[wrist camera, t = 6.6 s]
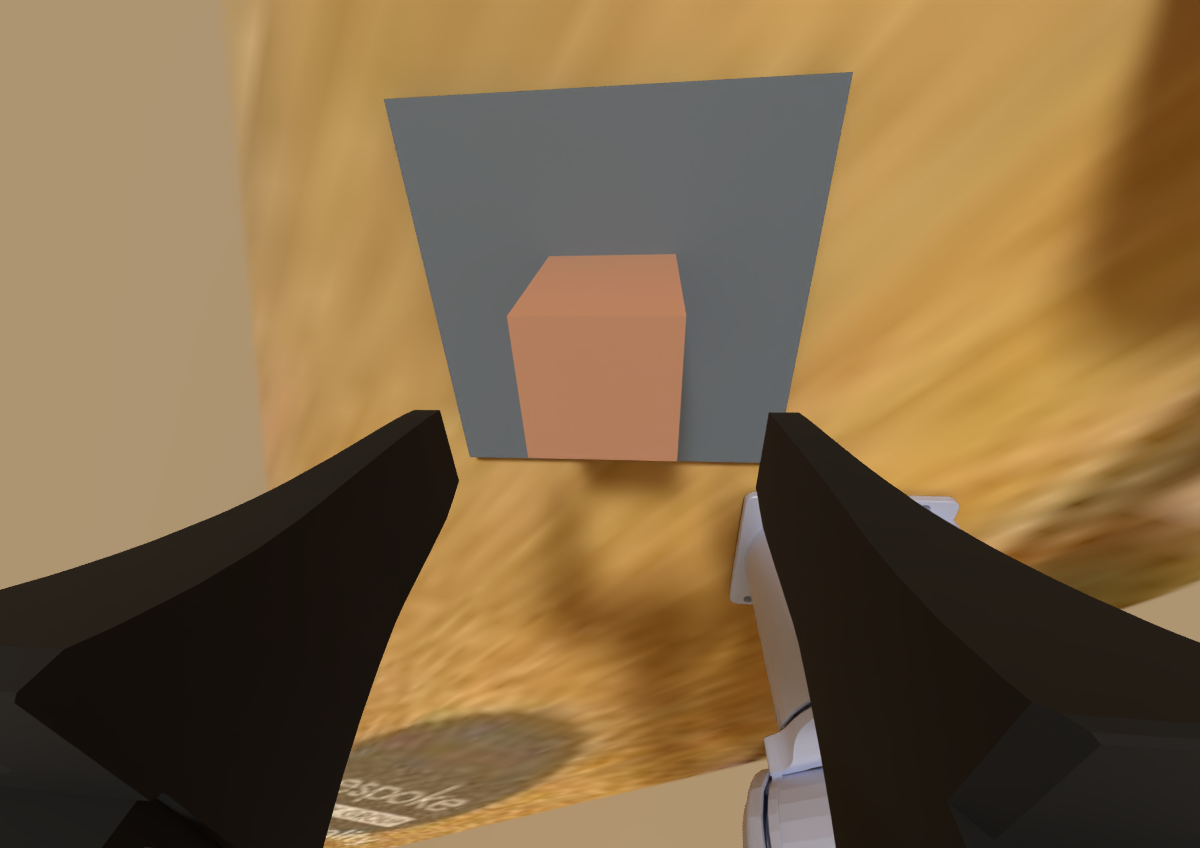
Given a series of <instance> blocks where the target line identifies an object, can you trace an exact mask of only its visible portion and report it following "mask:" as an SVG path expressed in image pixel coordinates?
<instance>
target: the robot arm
mask: <svg viewBox="0 0 1200 848" xmlns="http://www.w3.org/2000/svg"><path fill="white" fill-rule="evenodd" d="M458 482H459V479H458V476H457V472H456V468H455V464H454V461H453V457H452V453H451V450H450V446H449V442H448V439H447V435H446V431H445V428H444V424H443V420H442V416H441V413H440V410H413V411H411V412H409V413H407V414H405V415H403V416H401V417H399V418H397V419H395V420H394V421H392V422H390V423H388V424H387V425H385V426H383V427H382V428H380V429H378V430H376V431H375V432H373V433H371V434H370V435H368V436H366V437H365V438H363V439H361V440H360V441H358V442H356V443H355V444H353V445H351V446H350V447H348V448H346V449H345V450H343V451H341V452H340V453H338V454H336V455H335V456H333V457H331V458H329V459H327V460H326V461H324V462H322V463H320V464H318V465H317V466H315V467H313V468H311V469H309V470H308V471H306V472H304V473H302V474H300V475H299V476H297V477H295V478H293V479H291V480H290V481H288V482H286V483H284V484H282V485H280V486H278V487H276V488H274V489H272V490H270V491H268V492H266V493H264V494H262V495H260V496H258V497H256V498H254V499H252V500H250V501H247V502H245V503H243V504H241V505H239V506H236V507H234V508H232V509H230V510H228V511H226V512H223V513H221V514H219V515H216V516H214V517H212V518H209V519H207V520H204V521H202V522H199V523H197V524H194V525H192V526H189V527H187V528H184V529H182V530H179V531H177V532H174V533H172V534H169V535H167V536H164V537H162V538H159V539H157V540H154V541H151V542H149V543H146V544H143V545H140V546H138V547H135V548H132V549H129V550H126V551H123V552H121V553H118V554H115V555H112V556H109V557H106V558H103V559H100V560H97V561H94V562H91V563H88V564H85V565H82V566H79V567H76V568H73V569H70V570H67V571H63V572H60V573H57V574H54V575H50V576H47V577H44V578H40V579H37V580H33V581H30V582H26V583H22V584H19V585H15V586H12V587H8V588H5V589H1V590H0V848H323V846H324V842H325V838H326V835H327V831H328V827H329V824H330V820H331V817H332V813H333V809H334V806H335V802H336V799H337V795H338V792H339V788H340V784H341V781H342V777H343V774H344V770H345V767H346V764H347V761H348V758H349V754H350V751H351V748H352V745H353V742H354V738H355V735H356V732H357V729H358V726H359V723H360V719H361V716H362V713H363V710H364V707H365V705H366V702H367V699H368V696H369V693H370V690H371V687H372V684H373V682H374V679H375V676H376V673H377V670H378V667H379V664H380V662H381V659H382V657H383V654H384V651H385V649H386V646H387V643H388V641H389V638H390V635H391V633H392V630H393V628H394V625H395V623H396V620H397V618H398V616H399V614H400V611H401V609H402V607H403V605H404V603H405V601H406V599H407V597H408V595H409V593H410V591H411V589H412V587H413V585H414V583H415V581H416V579H417V577H418V575H419V573H420V571H421V569H422V567H423V565H424V563H425V561H426V559H427V557H428V555H429V553H430V551H431V549H432V547H433V545H434V543H435V541H436V539H437V537H438V535H439V533H440V531H441V529H442V527H443V525H444V523H445V521H446V519H447V516H448V513H449V510H450V507H451V504H452V501H453V498H454V495H455V492H456V489H457V485H458ZM756 491H757V492H751V493H749V494H747V495H746V496H745V498H744V503H743V509H742V516H741V522H740V528H739V534H738V540H737V546H736V553H735V559H734V565H733V571H732V577H731V584H730V590H729V597H730V600H731V602H733V603H736V604H750V605H753V608H754V612H755V617H756V622H757V627H758V632H759V637H760V642H761V646H762V651H763V656H764V661H765V666H766V671H767V676H768V680H769V685H770V690H771V695H772V700H773V705H774V710H775V714H776V719H777V724H778V729H779V732H778V733H775V734H773V735H770V736H766V737H765V738H764V744H765V750H766V755H767V761H768V766H769V769H764V770H761V771H760V772H758V773H757V774H756V775H755V777H754V778H753V780H752V782H751V785H750V788H749V792H748V797H747V803H746V805H745V810H744V817H743V848H1200V643H1199V642H1197V641H1194V640H1191V639H1189V638H1186V637H1184V636H1181V635H1179V634H1176V633H1174V632H1171V631H1169V630H1166V629H1164V628H1161V627H1159V626H1157V625H1154V624H1152V623H1150V622H1147V621H1145V620H1142V619H1140V618H1138V617H1136V616H1134V615H1131V614H1129V613H1127V612H1125V611H1122V610H1120V609H1118V608H1116V607H1113V606H1111V605H1109V604H1107V603H1104V602H1102V601H1100V600H1098V599H1095V598H1093V597H1091V596H1089V595H1086V594H1084V593H1082V592H1080V591H1078V590H1076V589H1074V588H1072V587H1070V586H1067V585H1065V584H1063V583H1061V582H1059V581H1057V580H1055V579H1053V578H1051V577H1049V576H1047V575H1045V574H1043V573H1041V572H1039V571H1037V570H1035V569H1033V568H1031V567H1029V566H1027V565H1025V564H1023V563H1021V562H1019V561H1017V560H1015V559H1013V558H1012V557H1010V556H1008V555H1006V554H1004V553H1002V552H1000V551H998V550H996V549H994V548H993V547H991V546H989V545H987V544H985V543H983V542H982V541H980V540H978V539H976V538H974V537H973V536H971V535H969V534H968V533H966V532H964V531H963V530H961V529H960V527H959V526H958V525H957V523H956V522H955V520H954V518H955V516H956V514H957V512H958V510H959V505H958V503H957V502H956V500H955V499H953V498H952V497H940V496H907V495H906V494H904V493H903V492H901V491H900V490H899V489H897V488H896V487H894V486H893V485H891V484H890V483H888V482H887V481H886V480H884V479H883V478H882V477H880V476H879V475H878V474H876V473H875V472H873V471H872V470H871V469H870V468H868V467H867V466H866V465H864V464H863V463H862V462H860V461H859V460H858V459H857V458H855V457H854V456H853V455H851V454H850V453H849V452H848V451H846V450H845V449H844V448H843V447H841V446H840V445H839V444H838V443H837V442H835V441H834V440H833V439H832V438H830V437H829V436H828V435H827V434H826V433H824V432H823V431H822V430H821V429H819V428H818V427H817V426H816V425H814V424H813V423H812V422H811V421H809V420H808V419H807V418H806V417H804V416H803V415H801V414H800V413H775V412H769V414H768V420H767V426H766V431H765V437H764V443H763V449H762V455H761V461H760V467H759V472H758V478H757V484H756ZM923 505H925V506H923Z"/></svg>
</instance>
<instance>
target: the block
mask: <svg viewBox="0 0 1200 848" xmlns="http://www.w3.org/2000/svg"><path fill="white" fill-rule="evenodd" d="M507 321H508V328H509V334H510V341H511V347H512V354H513V361H514V367H515V374H516V381H517V387H518V394H519V400H520V407H521V414H522V420H523V427H524V434H525V440H526V447H527V453H528V458H558V459H600V460H641V461H677V454H678V439H679V423H680V407H681V391H682V375H683V359H684V344H685V328H686V311H685V305H684V299H683V293H682V288H681V282H680V276H679V270H678V264H677V258H676V254H652V255H593V256H549V257H548V258H547V260H546V261H545V263H544V264H543V265H542V267H541V268H540V270H539V271H538V273H537V274H536V275H535V277H534V278H533V280H532V281H531V283H530V284H529V285H528V287H527V288H526V290H525V291H524V293H523V294H522V295H521V297H520V298H519V300H518V301H517V302H516V304H515V305H514V307H513V308H512V310H511V311H510V312H509V314H508V315H507Z"/></svg>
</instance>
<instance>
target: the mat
mask: <svg viewBox="0 0 1200 848" xmlns="http://www.w3.org/2000/svg"><path fill="white" fill-rule="evenodd" d="M852 74H853V72H846V73H829V74H812V75H794V76H777V77H760V78H742V79H725V80H708V81H690V82H673V83H656V84H639V85H621V86H604V87H587V88H569V89H552V90H535V91H517V92H500V93H483V94H465V95H448V96H431V97H413V98H396V99H384V102H385V106H386V110H387V114H388V118H389V123H390V127H391V131H392V135H393V139H394V143H395V147H396V152H397V156H398V160H399V164H400V168H401V172H402V177H403V181H404V185H405V189H406V193H407V197H408V201H409V206H410V210H411V214H412V218H413V222H414V226H415V231H416V235H417V239H418V243H419V247H420V251H421V255H422V260H423V264H424V268H425V272H426V276H427V280H428V284H429V289H430V293H431V297H432V301H433V305H434V309H435V314H436V318H437V322H438V326H439V330H440V334H441V338H442V343H443V347H444V351H445V355H446V359H447V363H448V368H449V372H450V376H451V380H452V384H453V388H454V392H455V397H456V401H457V405H458V409H459V413H460V417H461V422H462V426H463V430H464V434H465V438H466V442H467V446H468V451H469V455H470V457H495V458H528V453H527V447H526V440H525V434H524V427H523V420H522V414H521V407H520V400H519V394H518V387H517V381H516V374H515V367H514V361H513V354H512V347H511V341H510V334H509V328H508V321H507V315H508V314H509V312H510V311H511V310H512V308H513V307H514V305H515V304H516V302H517V301H518V300H519V298H520V297H521V295H522V294H523V293H524V291H525V290H526V288H527V287H528V285H529V284H530V283H531V281H532V280H533V278H534V277H535V275H536V274H537V273H538V271H539V270H540V268H541V267H542V265H543V264H544V263H545V261H546V260H547V258H548V257H549V256H593V255H652V254H676V258H677V264H678V270H679V276H680V282H681V288H682V293H683V299H684V305H685V311H686V328H685V344H684V359H683V375H682V391H681V407H680V423H679V439H678V454H677V461H696V462H746V463H760V461H761V455H762V449H763V443H764V437H765V431H766V426H767V420H768V414H769V412H775V413H785V412H786V407H787V402H788V397H789V392H790V386H791V381H792V376H793V371H794V366H795V361H796V356H797V351H798V346H799V341H800V336H801V331H802V326H803V321H804V316H805V311H806V306H807V301H808V296H809V291H810V286H811V281H812V276H813V270H814V265H815V260H816V255H817V250H818V245H819V240H820V235H821V230H822V225H823V220H824V215H825V210H826V205H827V200H828V195H829V190H830V185H831V180H832V175H833V170H834V165H835V160H836V155H837V149H838V144H839V139H840V134H841V129H842V124H843V119H844V114H845V109H846V104H847V99H848V94H849V89H850V84H851V79H852ZM545 459H558V458H545ZM595 460H600V459H595Z"/></svg>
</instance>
